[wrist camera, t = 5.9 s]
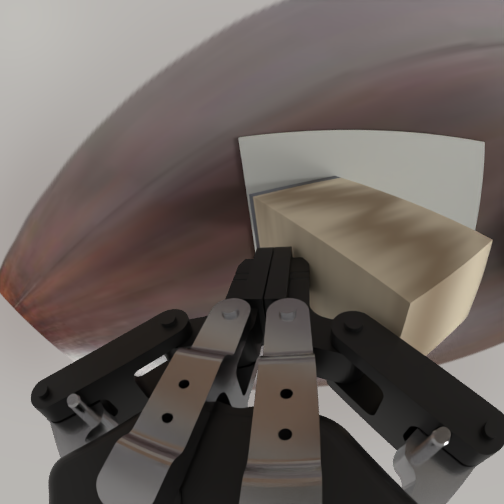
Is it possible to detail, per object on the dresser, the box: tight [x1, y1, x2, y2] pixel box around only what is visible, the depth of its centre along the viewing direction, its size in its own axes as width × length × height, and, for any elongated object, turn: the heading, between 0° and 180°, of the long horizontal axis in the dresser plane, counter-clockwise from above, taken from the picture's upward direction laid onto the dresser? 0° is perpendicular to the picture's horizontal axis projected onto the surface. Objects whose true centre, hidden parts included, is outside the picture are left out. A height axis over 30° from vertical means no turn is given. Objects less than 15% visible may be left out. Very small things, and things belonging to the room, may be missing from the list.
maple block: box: [249, 176, 493, 356], centre depth 12 cm, size 6×4×11 cm
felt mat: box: [238, 130, 485, 252], centre depth 18 cm, size 18×15×1 cm
